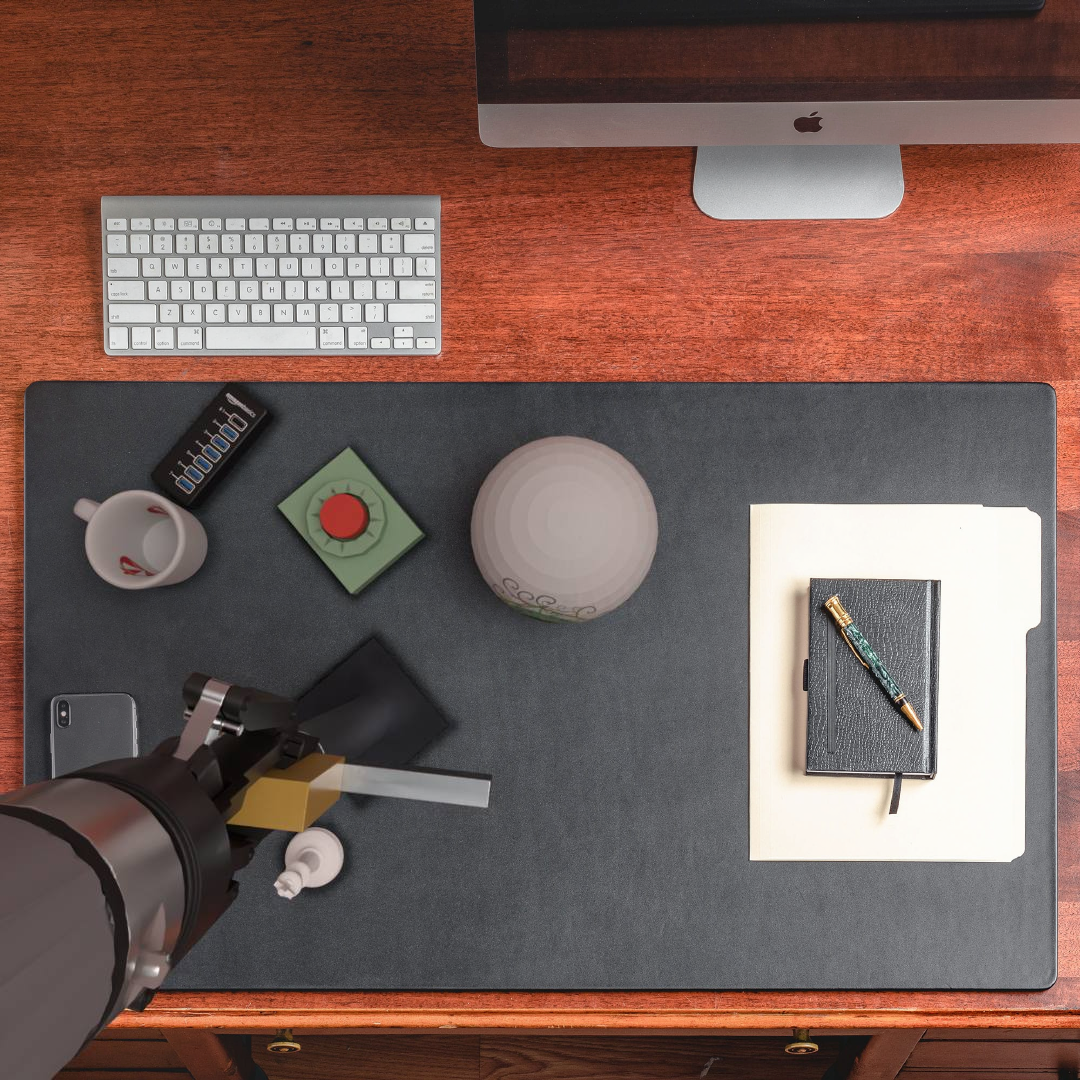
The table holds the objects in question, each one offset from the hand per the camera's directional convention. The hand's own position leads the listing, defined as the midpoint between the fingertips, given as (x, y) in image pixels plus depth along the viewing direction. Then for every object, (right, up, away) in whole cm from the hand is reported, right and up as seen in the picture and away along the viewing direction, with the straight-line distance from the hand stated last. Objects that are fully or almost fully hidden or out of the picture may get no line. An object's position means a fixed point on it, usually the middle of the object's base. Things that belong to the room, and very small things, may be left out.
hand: (285, 768), depth 51 cm
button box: (-2, +15, +27) cm, 31 cm away
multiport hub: (-14, +22, +28) cm, 38 cm away
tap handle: (+4, -1, +1) cm, 4 cm away
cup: (-19, +13, +27) cm, 35 cm away
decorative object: (+17, +13, +27) cm, 35 cm away
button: (-2, +15, +23) cm, 28 cm away
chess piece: (-4, -14, +25) cm, 29 cm away
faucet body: (0, -2, +25) cm, 26 cm away
